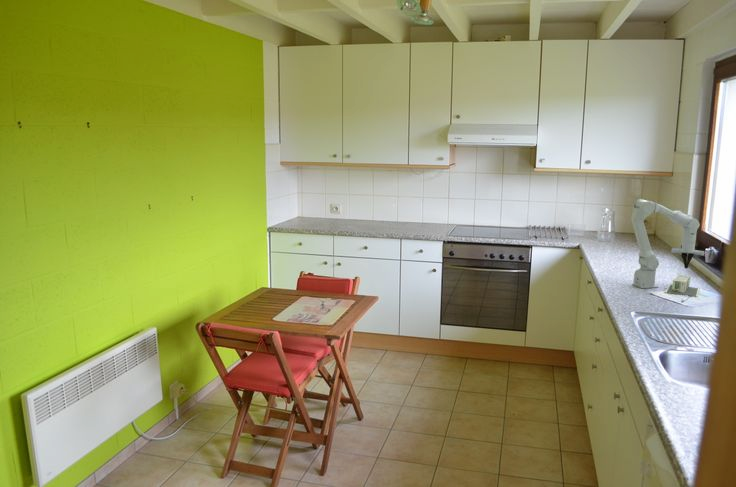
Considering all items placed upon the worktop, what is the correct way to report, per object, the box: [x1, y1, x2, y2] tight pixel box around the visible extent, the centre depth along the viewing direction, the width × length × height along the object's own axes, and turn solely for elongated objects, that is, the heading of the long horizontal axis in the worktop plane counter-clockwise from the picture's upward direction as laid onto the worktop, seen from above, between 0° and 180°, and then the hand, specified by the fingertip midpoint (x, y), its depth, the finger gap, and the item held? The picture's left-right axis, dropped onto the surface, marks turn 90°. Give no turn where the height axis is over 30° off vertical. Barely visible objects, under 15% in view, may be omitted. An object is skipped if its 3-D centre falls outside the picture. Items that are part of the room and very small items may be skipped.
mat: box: [664, 284, 701, 298], centre depth 289 cm, size 18×14×1 cm
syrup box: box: [671, 274, 691, 293], centre depth 291 cm, size 6×6×14 cm
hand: (686, 268), depth 296 cm, fingers closed
